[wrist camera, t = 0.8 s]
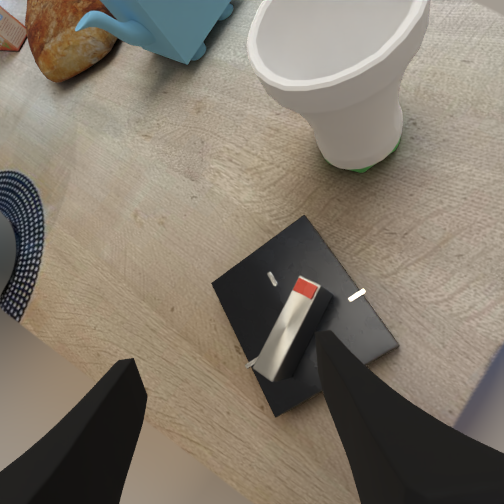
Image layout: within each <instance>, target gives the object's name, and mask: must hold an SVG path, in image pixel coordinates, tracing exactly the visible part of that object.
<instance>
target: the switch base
mask: <svg viewBox="0 0 504 504" xmlns="http://www.w3.org/2000/svg"><path fill="white" fill-rule="evenodd" d="M300 275H301V276H303V277H305V278H307V279H309V280H311V281H313V282H316V283H318V284H320V285H321V286H323V287H324V288H325V289H327V290H328V291H330V292H331V293H332V294H333V295H332V297H331V299H330V301H329V303H328V305H327V307H326V309H325V311H324V313H323V315H322V317H321V319H320V321H319V323H318V325H317V327H316V329H315V331H314V333H313V335H312V337H311V339H310V341H309V343H308V345H307V347H306V349H305V351H304V353H303V355H302V357H301V359H300V361H299V363H298V365H297V367H296V369H295V371H294V373H293V375H292V377H291V378H289V379H284V380H280V381H275V382H271V381H270V380H269V379H267V378H266V377H264V376H263V375H262V374H260V373H259V372H257V371H256V370H254V369H253V366H254V364H255V362H256V360H257V358H258V356H259V354H260V352H261V350H262V348H263V346H264V344H265V342H266V341H267V339H268V337H269V335H270V333H271V331H272V329H273V327H274V325H275V323H276V321H277V319H278V317H279V315H280V313H281V311H282V309H283V307H284V305H285V303H286V301H287V299H288V297H289V295H290V293H291V291H292V289H293V287H294V285H295V283H296V281H297V279H298V277H299V276H300ZM211 284H212V286H213V288H214V290H215V292H216V294H217V296H218V298H219V301H220V303H221V305H222V307H223V309H224V311H225V313H226V315H227V317H228V319H229V321H230V324H231V326H232V328H233V330H234V332H235V334H236V336H237V338H238V340H239V342H240V345H241V347H242V349H243V351H244V353H245V355H246V357H247V359H248V361H249V363H247V364H246V365H245V366H246V368H247V369H248V368H249V367H251V368H252V370H253V372H254V374H255V376H256V378H257V380H258V382H259V384H260V386H261V388H262V391H263V393H264V395H265V397H266V399H267V401H268V403H269V405H270V407H271V409H272V412H273V414H274V416H275V417H278V416H280V415H282V414H284V413H286V412H288V411H290V410H292V409H293V408H295V407H297V406H299V405H300V404H302V403H304V402H305V401H307V400H309V399H310V398H312V397H314V396H316V395H317V394H319V393H321V392H322V391H323V390H322V386H321V382H320V378H319V375H318V367H317V354H316V340H315V332H319V331H326V330H331V331H333V332H334V334H335V335H336V336H337V337H338V338H339V339H340V340H341V342H342V343H343V344H344V345H345V346H346V347H347V348H348V349H349V350H350V351H351V352H352V353H353V354H354V355H355V356H356V357H357V358H358V359H359V360H360V361H361V362H362V363H363V364H364V365H365V366H367V365H368V364H370V363H372V362H373V361H375V360H377V359H378V358H380V357H382V356H384V355H385V354H387V353H389V352H390V351H392V350H394V349H395V348H397V347H399V346H400V345H399V344H398V342H397V341H396V339H395V338H394V337H393V335H392V334H391V333H390V331H389V330H388V328H387V327H386V326H385V324H384V323H383V322H382V320H381V319H380V317H379V316H378V315H377V313H376V312H375V310H374V309H373V308H372V306H371V305H370V304H369V302H368V301H367V299H366V298H365V297H364V295H363V294H364V293H366V291H365V290H364V289H361V290H359V288H358V287H357V286H356V284H355V283H354V281H353V280H352V279H351V277H350V276H349V275H348V273H347V272H346V270H345V269H344V268H343V266H342V265H341V263H340V262H339V261H338V259H337V258H336V257H335V255H334V254H333V252H332V251H331V250H330V248H329V247H328V246H327V244H326V243H325V241H324V240H323V239H322V237H321V236H320V234H319V233H318V232H317V230H316V229H315V228H314V226H313V225H312V224H311V222H310V221H309V220H308V219H307V217H306V216H305V215H303V216H302V217H301V218H299V219H298V220H297V221H295V222H294V223H292V224H291V225H290V226H288V227H287V228H286V229H284V230H283V231H282V232H280V233H279V234H278V235H276V236H275V237H273V238H272V239H271V240H269V241H268V242H267V243H265V244H264V245H263V246H261V247H260V248H259V249H257V250H256V251H254V252H253V253H252V254H250V255H249V256H248V257H246V258H245V259H244V260H242V261H241V262H239V263H238V264H237V265H235V266H234V267H233V268H231V269H230V270H229V271H227V272H226V273H225V274H223V275H222V276H220V277H219V278H218V279H216V280H215V281H214V282H212V283H211Z"/></svg>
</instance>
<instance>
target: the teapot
mask: <svg viewBox="0 0 504 504" xmlns="http://www.w3.org/2000/svg"><path fill="white" fill-rule="evenodd" d="M100 1H101V2H102V3H103V4H104V5H105V7H106V8H107V9H108V10H109V11H110V12H111V13H112V14H113V16H114V17H115V18H116V19H117V20H118V21H117V20H115V19H114V18H112V17H110V16H108V15H107V14H105V13H103V12H100V11H90V12H88V13H86V14H85V15H84V16H83V17H82V18H81V20H80V21H79V23H78V24H77V26H76V28H75V31H80V30H82V29H85V28H88V27H97V28H101V29H103V30H105V31H107V32H109V33H111V34H112V35H114V36H115V37H117V38H119V39H120V40H122V41H124V42H126V43H128V44H131V45H134V46H141V47H142V48H143V49H145V50H148V51H150V52H153V53H156V54H159V55H162V56H164V57H167V58H170V59H173V60H175V61H178V62H181V63H184V64H186V65H188V63H189V62H190V60H193V61H195V60H198V59H200V58H201V57H202V56H203V55H204V53H205V51H206V46H205V44H204V42H203V41H204V40H205V38H206V37H207V35H208V34H209V32H210V31H211V29H212V28H213V26H214V25H215V23H216V22H217V20H220V21H221V20H224V19H226V18H228V17H229V16H230V15H231V13H232V11H233V5H232V4H230V3H229V2H230V1H231V0H100Z"/></svg>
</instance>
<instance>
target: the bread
mask: <svg viewBox="0 0 504 504" xmlns="http://www.w3.org/2000/svg"><path fill="white" fill-rule="evenodd" d="M90 11H100V12H103V13H105V14H107V15H108V16H110V17H112V18H114V19H115V20H117V19H116V18H115V17H114V16H113V14H112V13H111V12H110V11H109V10H108V9H107V8H106V7H105V5H104V4H103V3H102V2H101V1H100V0H27V12H26V19H25V27H26V34H27V38H28V42H29V46H30V49H31V52H32V54H33V57H34V59H35V62H36V64H37V65H38V67H39V69H40V70H41V72H42V73H43V74H44V75H45V76H46V77H47V78H48V79H50V80H51V81H53V82H55V83H59V82H63V81H65V80H68V79H70V78H72V77H74V76H76V75H77V74H79V73H81V72H83V71H84V70H86V69H88V68H89V67H91V66H92V65H94V64H95V63H97V62H98V61H100V60H101V59H102V58H103V57H104V56H105V55H107V54H108V53H109V52H110V51H111V49H112V47H113V45H114V43H115V42H116V40H117V39H118V38H117V37H115V36H114V35H112V34H111V33H109V32H107V31H105V30H103V29H101V28H97V27H88V28H85V29H82V30H80V31H75V28H76V26H77V24H78V23H79V21H80V20H81V18H82V17H83V16H84V15H85V14H86V13H88V12H90ZM117 21H118V20H117Z"/></svg>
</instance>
